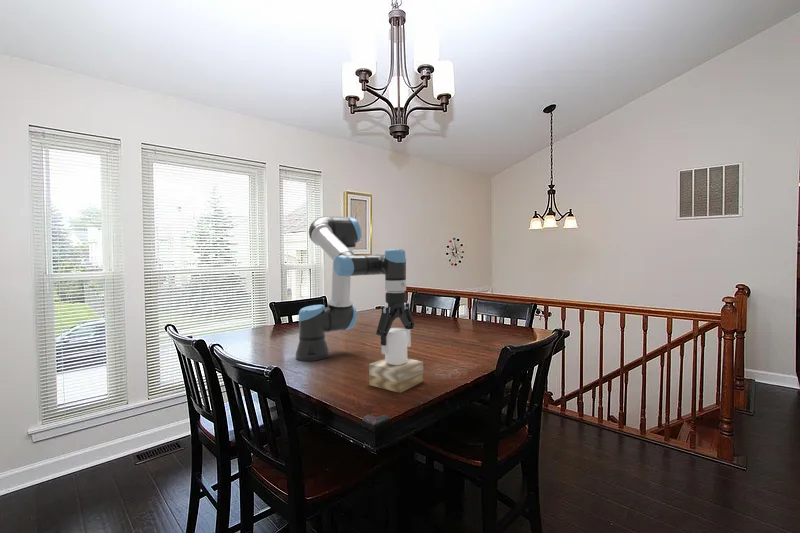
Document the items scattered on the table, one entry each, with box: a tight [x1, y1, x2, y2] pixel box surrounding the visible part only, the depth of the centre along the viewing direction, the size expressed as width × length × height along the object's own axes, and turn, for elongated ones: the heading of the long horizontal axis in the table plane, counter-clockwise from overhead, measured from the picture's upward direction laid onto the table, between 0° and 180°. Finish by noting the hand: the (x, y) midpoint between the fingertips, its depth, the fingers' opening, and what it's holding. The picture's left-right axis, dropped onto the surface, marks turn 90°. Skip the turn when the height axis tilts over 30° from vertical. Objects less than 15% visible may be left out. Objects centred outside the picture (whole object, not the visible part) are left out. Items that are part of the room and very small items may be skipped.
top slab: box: [368, 357, 424, 383], centre depth 141 cm, size 14×14×4 cm
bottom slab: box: [368, 372, 424, 394], centre depth 141 cm, size 14×14×4 cm
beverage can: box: [384, 327, 408, 365], centre depth 140 cm, size 8×8×12 cm
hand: (396, 350), depth 141 cm, fingers open, 13 cm apart
